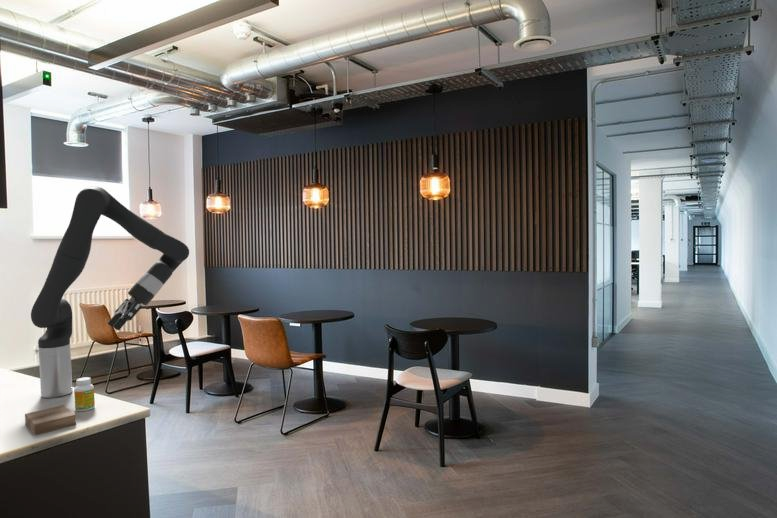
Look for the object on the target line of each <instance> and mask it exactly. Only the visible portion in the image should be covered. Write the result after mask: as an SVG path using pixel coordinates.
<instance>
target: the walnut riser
mask: <svg viewBox="0 0 777 518" xmlns="http://www.w3.org/2000/svg"><path fill="white" fill-rule="evenodd" d="M76 416H77V414H75V413H74V412H73V411H72V410H70V409H69V407H67V406H66V405H64V404H63V405H59V406H54V407H50V408H45V409H40V410H36V411H32V412H27V413H25V414H24V422H25V425H26V426H27V427H28V428H29V429H30V430H31V432H32V433H33V434H34V435H35V436H37V435H40V434H44V433H45V434H46V433H48V432H52V431H57V430H60V429H64V428H68V427H72V426H76V425H77V418H76Z"/></svg>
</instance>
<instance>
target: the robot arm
mask: <svg viewBox="0 0 777 518" xmlns="http://www.w3.org/2000/svg"><path fill="white" fill-rule="evenodd" d="M101 216H103V217H106V218H108V219H110V220H111V221H113V222H115V223H116V224H117V225H119V226H121V228H122V229H124V230H125V232H127V233H128V234H129V235H131V236H132V237H133V238H135V240H138V242H141V243H142V244H143V245H145V246H147V247H148V248H150V249H153V250H156V251H158V252H160V253H162V255H161V256H160V258H159V259H158V260H157V261H156V262H155V263H154V264H153V265H152V266H151V267H150V268H149V269H148V270H147V271H146V272H145V273H144V275H142V276H141V277H140V278H139V279H138V280H137V282H135V284H134V285H133V286H132V287H131V289H129V290H128V292H127V295H129V297H130V298H126V299H124V301H123V302H122V303H121V304H120V305H119V306H118V308H116V310H115V311H114V315H113V316H112V317H111V318H110V319H109V320H108V322H107V325H108V326H110V327H113V328H114V329H115V330H116V331H120V330H121V329H122V328H123V326H124V325H126V323H127V322H131V321H132V320H133V318H134V317H135V316H136V315H137V314H138V312H139V311H140V310H141V309H142V307H143V306H148V305H149V303H151V301H152V300H153V298H155V296H156V295H157V294H158V293H159V292H160V290H162V287H163V286H164V285H165V284H166V283H167V281H168V280H169V279H170V278H171V277H172V275H173V273H174V272H175V270H176V269H178V267H179V266H181V264H182V263H183V262H184V261H185V260H187V259H188V258H189V255H190V249H189V247H188V245H186V244H185V243H184V242H182V241H181V240H179V239H177V238H175V237H173V236H171V235H169V234H167V233H165V232H164V231H163V230H161V229H160V228H158V227H156V226H154V225H153V224H152V223H150V222H148V221H146V220H145V219H144V218H142V217H141V216H140V215H137V214H136V213H135V212H133V211H131V210H130V209H129V208H127V207H126V206H124V205H123V204H122V203H121V202H120V201H118V199H116V198H115V197H114V196H112V194H111V193H109V192H108V191H107V190H106V189H105V188H103V187H101V186H96V185H95V186H89V187H86V188H84V189H82V190H79V192H78V194H77V195H76V198H75V201H74V206H73V210H72V213H71V218H70V222H69V224H68V226H67V228H66V230H65V232H64V235H63V237H62V239H61V241H60V243H59V245H58V248H57V250H56V253H55V256H54V258H53V261H52V264H51V267H50V270H49V271H48V274H47V277H46V279H45V281H44V284H43V286H42V288H41V290H40V292H39V294H38V296H37V298H36V299H35V301H34V303H33V306H32V308H31V311H30V320H31V322H32V324H33V325H34V326H35V327H37V328H39V329H46V330H45V332H44V333H43V334H42V335H41V336H40V337H39V339H38V340H37V346H38V361H39V362H38V364H39V365H38V366H39V380H40V381H39V382H40V397H41V398H45V399H49V398H51V399H52V398H59V397H64V396H67V395H69V394H71V393H73V377H72V373H73V372H72V357H71V356H72V354H71V338H72V335H73V311H72V310H73V309H72V306H71V304H70V302H69V301H68V300H66V299H64V298H63V297H64V295H65V293H66V292H67V291H68V289H70V287H71V285H73V283H75V281H76V280H77V279H78V278H79V276H80V275H82V272H83V271H84V269H85V266H86V265H87V261H88V259H89V256H90V253H91V249H92V243H93V242H92V239H93V234H94V232H95V231H94V230H95V227H96V226H97V224H98V222H99V220H100V218H101ZM71 387H72V388H71Z"/></svg>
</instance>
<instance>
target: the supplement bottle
mask: <svg viewBox="0 0 777 518" xmlns="http://www.w3.org/2000/svg"><path fill="white" fill-rule="evenodd" d="M91 378H92V377H88V376H86V377H85V376H84V377H80V378H77V379H76V380H75V381H76V386H75V387H74V388H73V392H74V410H75V411H76V412H87V411H90V409H91V410H93V409H94V408H95V402H96V401H95V387H94V385H93V384H92V383H91V382H92V379H91Z"/></svg>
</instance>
